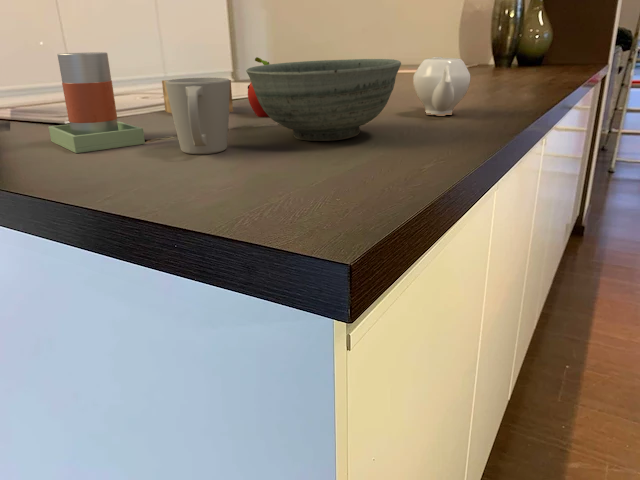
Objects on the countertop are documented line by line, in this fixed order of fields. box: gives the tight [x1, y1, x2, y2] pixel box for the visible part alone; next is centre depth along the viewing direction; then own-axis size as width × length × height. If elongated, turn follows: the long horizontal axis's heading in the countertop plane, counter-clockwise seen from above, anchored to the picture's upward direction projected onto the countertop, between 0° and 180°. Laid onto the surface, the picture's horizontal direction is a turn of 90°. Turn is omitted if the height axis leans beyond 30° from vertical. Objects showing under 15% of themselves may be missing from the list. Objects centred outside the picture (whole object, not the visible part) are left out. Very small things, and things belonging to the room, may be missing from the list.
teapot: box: [412, 56, 472, 114], centre depth 92 cm, size 10×20×9 cm, turn 174°
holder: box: [161, 79, 234, 114], centre depth 97 cm, size 9×9×6 cm
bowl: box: [245, 58, 402, 142], centre depth 74 cm, size 21×21×10 cm
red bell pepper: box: [247, 56, 270, 118], centre depth 91 cm, size 8×7×10 cm
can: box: [57, 51, 119, 136], centre depth 71 cm, size 6×6×11 cm
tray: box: [48, 120, 146, 154], centre depth 73 cm, size 11×9×2 cm
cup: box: [166, 76, 231, 155], centre depth 65 cm, size 8×10×8 cm
